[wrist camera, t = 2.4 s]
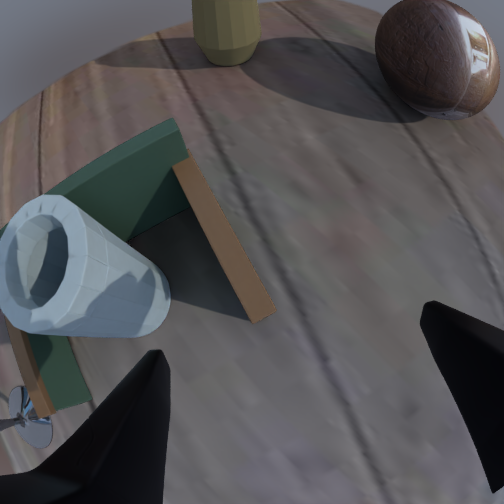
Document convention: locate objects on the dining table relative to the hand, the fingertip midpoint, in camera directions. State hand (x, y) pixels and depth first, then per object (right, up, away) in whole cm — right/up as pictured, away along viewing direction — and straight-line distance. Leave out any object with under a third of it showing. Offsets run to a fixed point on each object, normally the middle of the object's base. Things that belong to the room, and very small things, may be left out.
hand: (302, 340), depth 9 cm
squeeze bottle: (-4, +28, +23) cm, 36 cm away
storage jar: (-12, -1, +15) cm, 19 cm away
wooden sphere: (+19, +22, +20) cm, 36 cm away
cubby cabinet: (-12, -1, +15) cm, 19 cm away
